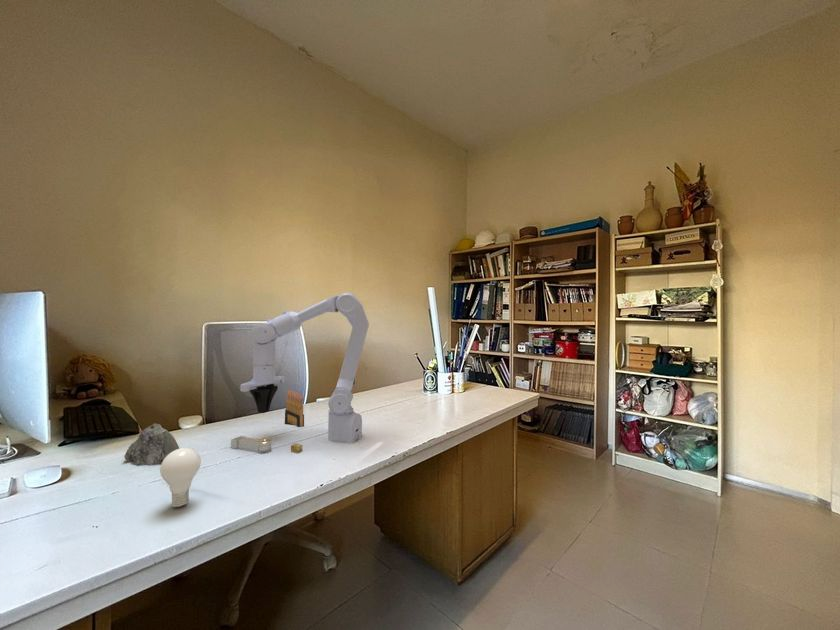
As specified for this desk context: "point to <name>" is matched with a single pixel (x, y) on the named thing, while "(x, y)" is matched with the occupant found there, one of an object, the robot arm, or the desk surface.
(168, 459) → the lightbulb
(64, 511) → the desk surface
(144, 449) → the mineral rock
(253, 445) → the swing bar
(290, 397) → the ammunition clip
